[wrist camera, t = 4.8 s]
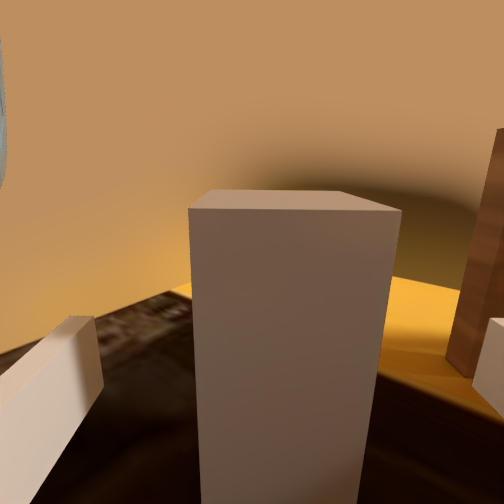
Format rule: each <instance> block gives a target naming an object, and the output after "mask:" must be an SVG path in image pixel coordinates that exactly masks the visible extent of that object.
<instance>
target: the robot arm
mask: <svg viewBox="0 0 504 504" xmlns="http://www.w3.org/2000/svg"><path fill="white" fill-rule="evenodd" d="M6 136H7V133H6V106H5V88H4V75H3V62H2V50H1V40H0V187H1V186H2V183H3V180H4V176H5V170H6V155H7V137H6ZM103 387H104V382H103V376H102V369H101V362H100V356H99V349H98V342H97V335H96V329H95V322H94V316H69V317H68V318H67V319H66V320H64V321H63V322H62V323H61V324H60V325H59V326H58V327H56V328H55V329H54V330H53V331H52V332H51V333H49V334H48V335H47V336H46V337H45V338H44V339H43V340H41V341H40V342H39V343H38V344H37V345H36V346H35V347H33V348H32V349H31V350H30V351H29V352H28V353H26V354H25V355H24V356H23V357H22V358H21V359H20V360H18V361H17V362H16V363H15V364H14V365H13V366H12V367H10V368H9V369H8V370H7V371H6V372H5V373H3V374H2V375H1V376H0V504H30V502H31V501H32V499H33V497H34V496H35V494H36V493H37V491H38V490H39V488H40V486H41V485H42V483H43V482H44V480H45V479H46V477H47V475H48V474H49V472H50V471H51V469H52V468H53V466H54V464H55V463H56V461H57V460H58V458H59V457H60V455H61V453H62V452H63V450H64V449H65V447H66V446H67V444H68V442H69V441H70V439H71V438H72V436H73V434H74V433H75V431H76V430H77V428H78V427H79V425H80V423H81V422H82V420H83V419H84V417H85V416H86V414H87V412H88V411H89V409H90V408H91V406H92V405H93V403H94V401H95V400H96V398H97V397H98V395H99V394H100V392H101V390H102V389H103ZM472 387H473V388H474V389H475V390H476V391H477V392H478V393H479V394H480V395H481V396H482V397H483V398H484V399H485V400H486V401H487V402H488V403H489V404H490V405H491V406H492V407H493V408H494V409H495V410H496V411H497V412H498V413H499V414H500V415H501V416H502V417H503V418H504V318H490V319H489V323H488V327H487V331H486V334H485V338H484V342H483V346H482V349H481V353H480V357H479V361H478V364H477V368H476V372H475V376H474V379H473V383H472Z"/></svg>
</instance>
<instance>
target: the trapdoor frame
mask: <svg viewBox="0 0 504 504" xmlns="http://www.w3.org/2000/svg"><path fill="white" fill-rule="evenodd" d="M490 318H504V128H501V129H497V133H496V138H495V142H494V146H493V150H492V155H491V159H490V164H489V168H488V172H487V177H486V181H485V186H484V190H483V195H482V199H481V203H480V207H479V212H478V216H477V221H476V225H475V230H474V234H473V238H472V243H471V247H470V251H469V256H468V260H467V264H466V269H465V273H464V278H463V282H462V286H461V291H460V295H459V300H458V304H457V308H456V313H455V317H454V321H453V326H452V330H451V335H450V339H449V343H448V348H447V352H446V357H445V358H446V359H447V360H448V361H449V362H450V363H451V364H452V365H453V366H454V367H455V368H456V369H457V370H458V371H459V372H460V373H461V374H462V375H463V376H464V377H474V376H475V372H476V368H477V364H478V361H479V357H480V353H481V349H482V346H483V342H484V338H485V334H486V331H487V327H488V323H489V319H490Z"/></svg>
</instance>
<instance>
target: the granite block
mask: <svg viewBox="0 0 504 504" xmlns="http://www.w3.org/2000/svg"><path fill="white" fill-rule="evenodd" d="M401 215H402V210H398V209H395V208H392V207H389V206H385V205H382V204H379V203H376V202H372V201H369V200H366V199H363V198H359V197H356V196H353V195H349V194H346V193H343V192H340V191H289V190H287V191H285V190H280V191H279V190H212V189H211V190H210V191H209V192H208V193H206V194H205V195H204V196H203V197H201V198H200V199H199V200H198V201H196V202H195V203H194V204H193V205H192V206H190V207H189V208H188V216H189V238H190V260H191V282H192V305H193V327H194V349H195V371H196V393H197V415H198V438H199V460H200V482H201V504H356V503H357V497H358V491H359V484H360V478H361V471H362V465H363V459H364V452H365V446H366V439H367V433H368V427H369V420H370V414H371V407H372V401H373V395H374V388H375V382H376V375H377V369H378V363H379V356H380V350H381V343H382V337H383V330H384V324H385V318H386V311H387V305H388V298H389V292H390V286H391V279H392V273H393V266H394V260H395V253H396V247H397V241H398V234H399V228H400V221H401Z"/></svg>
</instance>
